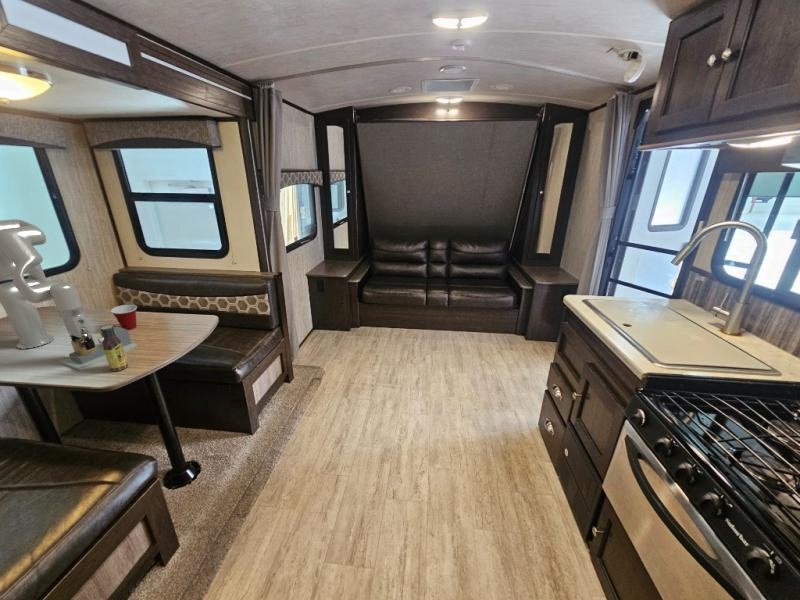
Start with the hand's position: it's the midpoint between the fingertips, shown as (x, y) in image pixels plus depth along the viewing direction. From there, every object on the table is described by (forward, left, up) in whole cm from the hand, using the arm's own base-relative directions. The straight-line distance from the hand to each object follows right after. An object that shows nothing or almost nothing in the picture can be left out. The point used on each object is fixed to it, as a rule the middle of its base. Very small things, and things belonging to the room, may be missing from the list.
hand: (84, 346), depth 146 cm
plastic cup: (-17, +27, -7) cm, 32 cm away
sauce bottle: (+20, +2, -7) cm, 21 cm away
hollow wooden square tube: (0, 0, -3) cm, 3 cm away
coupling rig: (0, +5, -7) cm, 8 cm away
